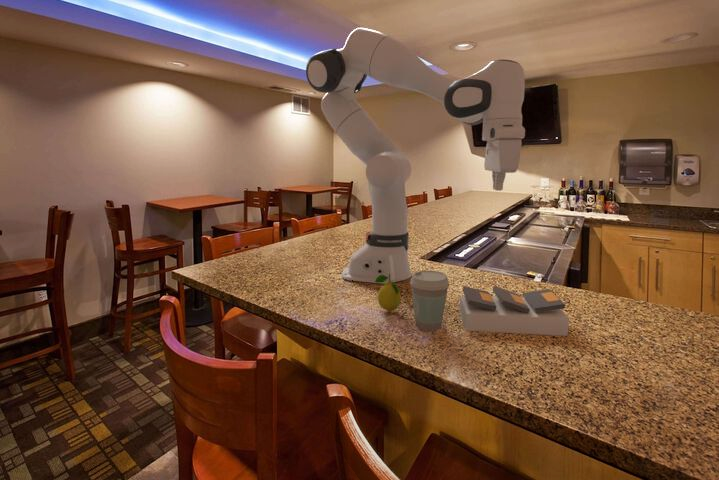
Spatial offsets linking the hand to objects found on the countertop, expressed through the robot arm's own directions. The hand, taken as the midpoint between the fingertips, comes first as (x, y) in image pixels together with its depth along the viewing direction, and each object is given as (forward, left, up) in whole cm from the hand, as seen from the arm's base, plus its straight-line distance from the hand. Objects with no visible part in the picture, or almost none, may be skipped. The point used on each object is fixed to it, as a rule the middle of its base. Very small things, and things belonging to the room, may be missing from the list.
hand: (497, 190), depth 92 cm
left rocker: (-6, -13, -24) cm, 28 cm away
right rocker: (+8, -13, -24) cm, 28 cm away
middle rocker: (+1, -13, -24) cm, 27 cm away
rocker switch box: (+1, -14, -29) cm, 32 cm away
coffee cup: (-17, -18, -29) cm, 38 cm away
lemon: (-27, -11, -29) cm, 41 cm away
